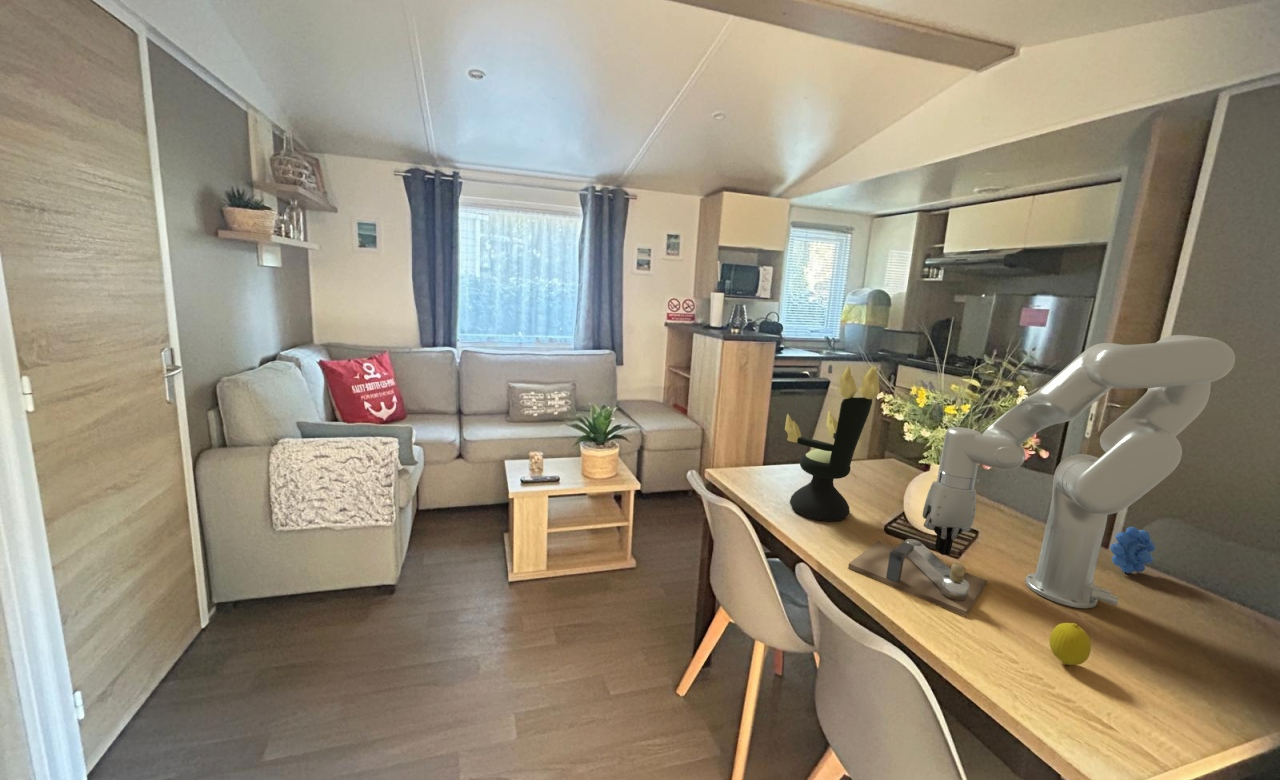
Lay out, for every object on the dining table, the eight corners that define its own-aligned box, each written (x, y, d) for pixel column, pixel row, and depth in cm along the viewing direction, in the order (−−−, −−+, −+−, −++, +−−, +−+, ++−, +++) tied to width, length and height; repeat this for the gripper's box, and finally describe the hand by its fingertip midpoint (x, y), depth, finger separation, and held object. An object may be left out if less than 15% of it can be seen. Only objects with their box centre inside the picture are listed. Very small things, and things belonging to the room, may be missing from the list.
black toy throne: (817, 495, 166) (836, 355, 157) (879, 523, 147) (904, 366, 138) (774, 504, 156) (791, 355, 148) (834, 535, 137) (857, 367, 129)
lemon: (1092, 678, 89) (1103, 636, 87) (1056, 671, 90) (1066, 630, 88) (1073, 656, 94) (1082, 617, 93) (1038, 651, 95) (1048, 611, 94)
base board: (986, 585, 117) (993, 552, 116) (965, 616, 104) (972, 580, 103) (877, 544, 134) (882, 515, 132) (848, 568, 121) (852, 536, 119)
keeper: (909, 570, 119) (914, 545, 118) (897, 583, 113) (901, 556, 112) (898, 566, 121) (902, 541, 120) (885, 578, 115) (890, 552, 114)
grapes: (1124, 583, 122) (1137, 535, 120) (1096, 568, 128) (1107, 522, 126) (1166, 582, 124) (1179, 535, 121) (1136, 567, 130) (1147, 522, 128)
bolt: (971, 601, 107) (974, 587, 107) (948, 599, 107) (951, 586, 107) (917, 550, 128) (919, 539, 128) (898, 549, 128) (900, 538, 128)
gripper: (976, 476, 126) (963, 546, 129) (915, 472, 125) (903, 543, 129) (998, 487, 118) (982, 561, 122) (933, 484, 118) (920, 558, 121)
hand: (942, 551), depth 125 cm, fingers closed
